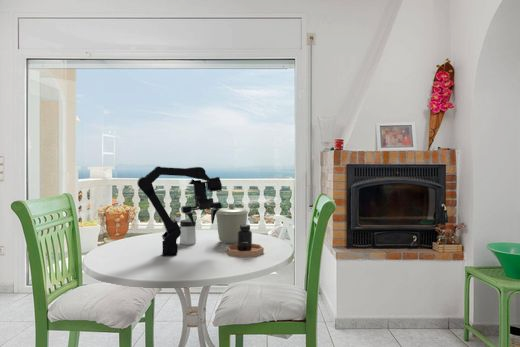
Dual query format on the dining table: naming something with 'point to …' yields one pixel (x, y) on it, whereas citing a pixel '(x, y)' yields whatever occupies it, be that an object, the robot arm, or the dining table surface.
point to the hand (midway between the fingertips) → (203, 225)
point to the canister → (230, 223)
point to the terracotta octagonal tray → (254, 251)
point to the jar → (187, 232)
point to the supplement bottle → (244, 238)
